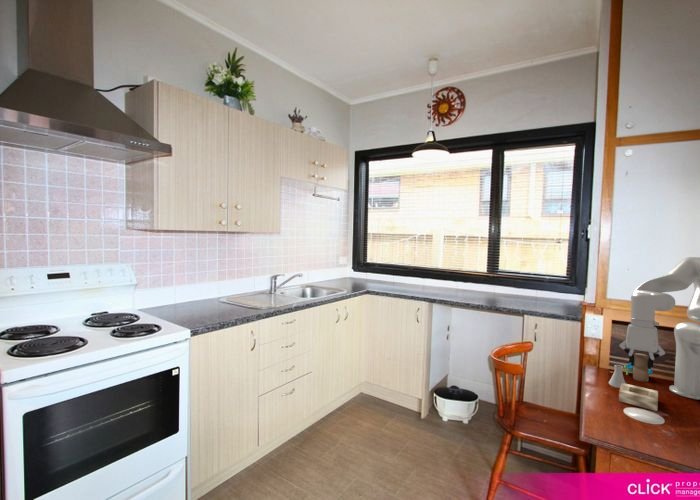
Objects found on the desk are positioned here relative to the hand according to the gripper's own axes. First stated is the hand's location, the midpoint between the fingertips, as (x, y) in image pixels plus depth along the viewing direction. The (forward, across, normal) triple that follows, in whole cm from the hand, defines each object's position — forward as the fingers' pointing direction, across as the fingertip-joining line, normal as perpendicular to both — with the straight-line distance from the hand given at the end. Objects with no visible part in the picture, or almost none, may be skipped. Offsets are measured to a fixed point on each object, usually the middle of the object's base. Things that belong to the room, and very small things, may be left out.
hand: (640, 366), depth 145 cm
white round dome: (+15, -2, +16) cm, 22 cm away
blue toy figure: (+17, +2, -37) cm, 40 cm away
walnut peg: (+6, 0, 0) cm, 6 cm away
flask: (+16, +8, -13) cm, 22 cm away
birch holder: (+16, 0, +1) cm, 16 cm away
